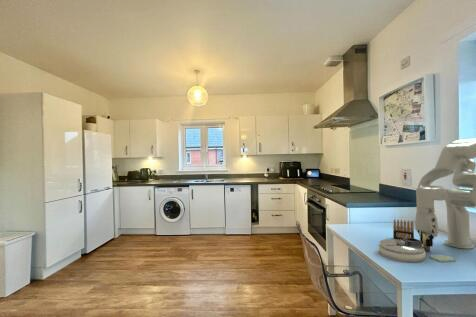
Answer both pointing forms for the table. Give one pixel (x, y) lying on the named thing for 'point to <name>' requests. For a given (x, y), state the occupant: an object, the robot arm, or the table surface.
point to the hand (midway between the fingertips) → (426, 245)
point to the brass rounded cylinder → (425, 241)
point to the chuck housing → (402, 256)
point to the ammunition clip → (403, 230)
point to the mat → (443, 258)
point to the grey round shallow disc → (403, 246)
